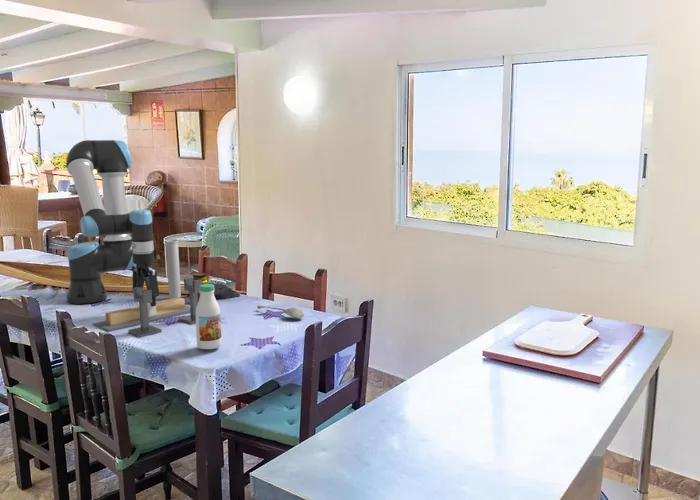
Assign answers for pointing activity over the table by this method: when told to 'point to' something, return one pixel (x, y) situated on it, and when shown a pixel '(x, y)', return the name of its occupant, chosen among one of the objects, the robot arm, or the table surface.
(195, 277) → the condiment
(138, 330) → the standards
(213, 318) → the milk bottle
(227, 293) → the dark slate chunk
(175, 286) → the tube
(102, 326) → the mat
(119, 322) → the hang bar
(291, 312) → the soupspoon
